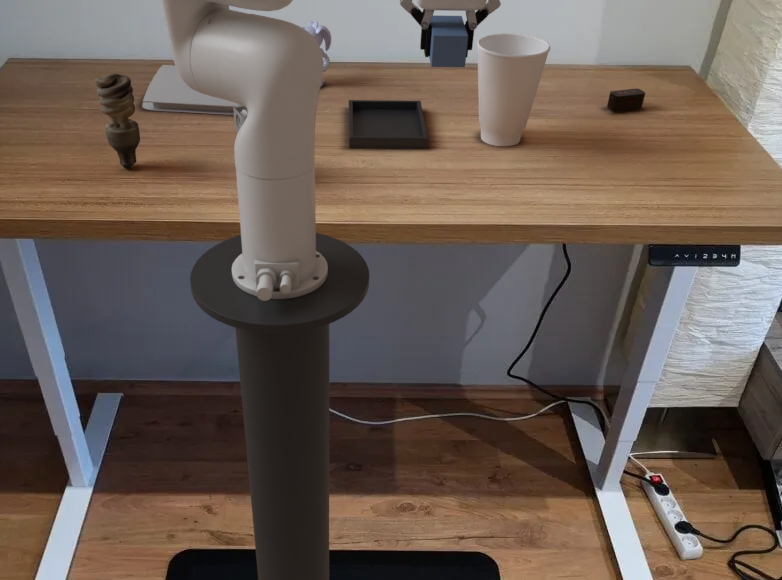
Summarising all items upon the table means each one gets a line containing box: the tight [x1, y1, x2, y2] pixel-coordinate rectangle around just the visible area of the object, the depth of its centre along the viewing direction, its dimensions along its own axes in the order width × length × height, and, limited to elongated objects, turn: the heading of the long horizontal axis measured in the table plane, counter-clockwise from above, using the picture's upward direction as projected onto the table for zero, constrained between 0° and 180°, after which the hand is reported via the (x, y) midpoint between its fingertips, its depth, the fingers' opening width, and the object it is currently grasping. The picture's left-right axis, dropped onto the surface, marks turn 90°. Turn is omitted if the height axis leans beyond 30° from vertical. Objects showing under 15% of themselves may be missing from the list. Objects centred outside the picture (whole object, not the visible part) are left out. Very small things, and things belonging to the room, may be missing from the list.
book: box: [141, 64, 239, 116], centre depth 154 cm, size 15×23×4 cm, turn 83°
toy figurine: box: [301, 20, 332, 88], centre depth 158 cm, size 7×6×12 cm
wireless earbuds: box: [606, 88, 646, 114], centre depth 152 cm, size 5×7×3 cm, turn 107°
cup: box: [476, 33, 551, 147], centre depth 136 cm, size 12×12×16 cm
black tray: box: [348, 99, 429, 150], centre depth 144 cm, size 17×13×2 cm
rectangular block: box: [428, 15, 468, 68], centre depth 121 cm, size 10×5×4 cm, turn 179°
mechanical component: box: [233, 105, 248, 134], centre depth 126 cm, size 3×10×10 cm, turn 24°
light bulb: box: [94, 73, 141, 170], centre depth 127 cm, size 6×6×15 cm
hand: (445, 53), depth 122 cm, fingers closed on rectangular block, 5 cm apart
